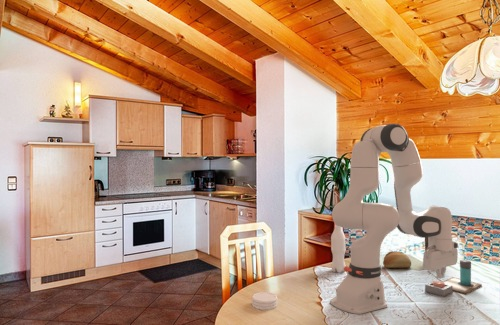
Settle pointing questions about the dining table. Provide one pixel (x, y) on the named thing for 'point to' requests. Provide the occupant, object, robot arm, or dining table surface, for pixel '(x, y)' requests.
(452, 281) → the clipboard
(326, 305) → the dining table surface
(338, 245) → the water bottle
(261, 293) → the coaster
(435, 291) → the button housing
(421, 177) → the robot arm
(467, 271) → the teal spice jar
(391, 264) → the bread roll
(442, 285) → the button
